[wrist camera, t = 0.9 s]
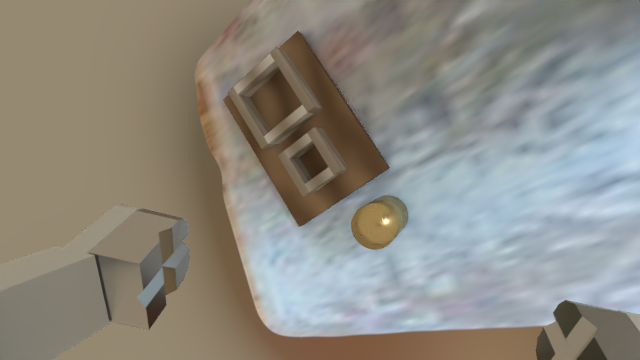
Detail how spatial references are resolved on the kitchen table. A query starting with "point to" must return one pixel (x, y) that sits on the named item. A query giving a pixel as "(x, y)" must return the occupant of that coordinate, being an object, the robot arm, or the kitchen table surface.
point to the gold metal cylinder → (379, 222)
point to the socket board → (303, 130)
